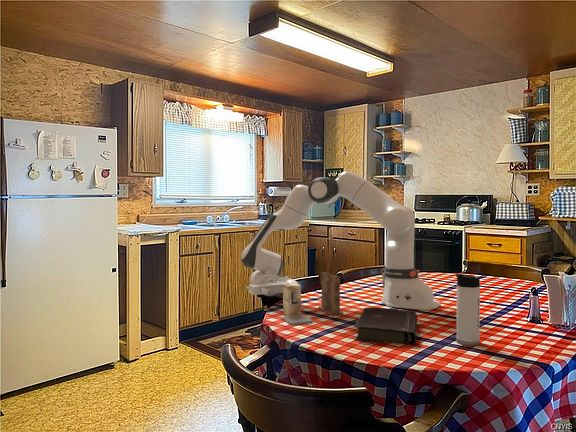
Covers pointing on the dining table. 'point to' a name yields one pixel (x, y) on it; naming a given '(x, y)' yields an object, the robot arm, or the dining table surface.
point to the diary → (386, 325)
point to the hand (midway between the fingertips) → (280, 291)
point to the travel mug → (468, 310)
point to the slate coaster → (297, 320)
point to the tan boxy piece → (292, 299)
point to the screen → (330, 294)
